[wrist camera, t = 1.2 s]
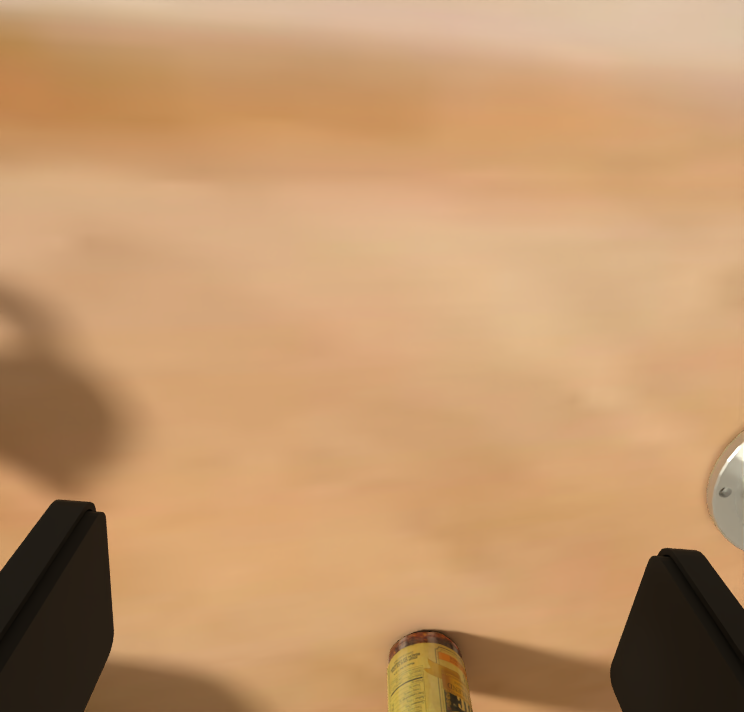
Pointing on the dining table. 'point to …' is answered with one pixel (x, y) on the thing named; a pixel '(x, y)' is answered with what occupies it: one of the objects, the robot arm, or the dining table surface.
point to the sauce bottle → (427, 675)
